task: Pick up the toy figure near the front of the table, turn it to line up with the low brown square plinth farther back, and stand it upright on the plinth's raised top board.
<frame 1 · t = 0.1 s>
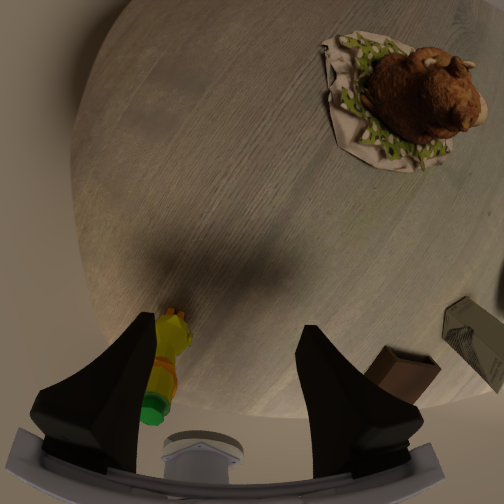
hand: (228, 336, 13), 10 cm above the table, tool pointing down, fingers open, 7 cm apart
box: (453, 317, 28), on the table
brown square plinth: (394, 373, 29), on the table
bear figurine: (395, 100, 19), on the table
toy figure: (173, 318, 24), on the table
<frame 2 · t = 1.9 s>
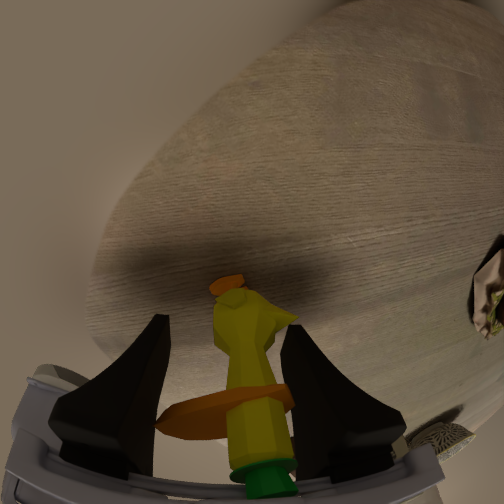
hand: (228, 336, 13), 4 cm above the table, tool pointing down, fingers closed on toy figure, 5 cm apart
box: (378, 432, 30), on the table
bowl: (426, 430, 35), on the table
canister: (397, 466, 47), on the table
toy figure: (227, 287, 16), on the table, touching gripper
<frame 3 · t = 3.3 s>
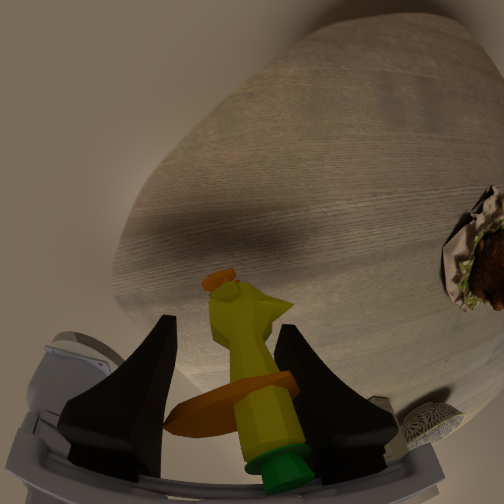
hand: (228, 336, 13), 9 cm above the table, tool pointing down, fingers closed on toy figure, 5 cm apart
box: (368, 405, 35), on the table
bowl: (417, 410, 40), on the table
canister: (391, 451, 52), on the table
bear figurine: (481, 253, 23), on the table
toy figure: (219, 283, 16), point 5 cm above the table, touching gripper
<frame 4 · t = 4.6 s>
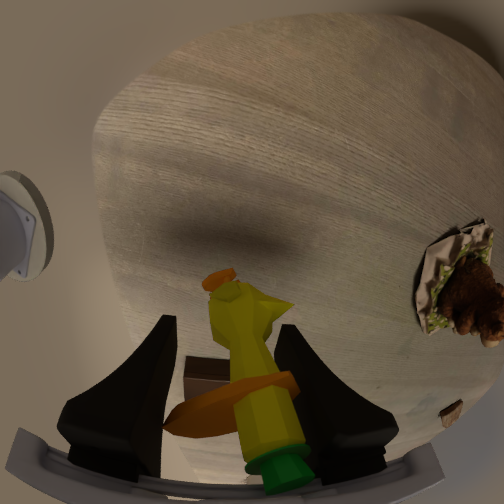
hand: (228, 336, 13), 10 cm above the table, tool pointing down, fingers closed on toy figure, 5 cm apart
brown square plinth: (215, 385, 30), on the table
bear figurine: (453, 279, 26), on the table
notched wooden chunk: (448, 408, 46), on the table
toy figure: (219, 283, 16), point 6 cm above the table, touching gripper
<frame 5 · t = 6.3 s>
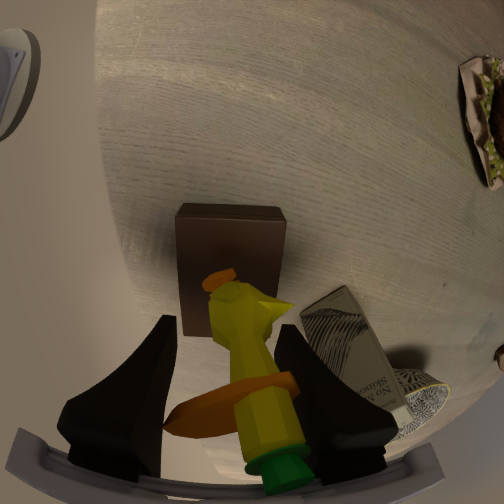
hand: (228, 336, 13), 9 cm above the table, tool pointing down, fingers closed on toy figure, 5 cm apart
box: (330, 311, 25), on the table
brown square plinth: (228, 265, 22), on the table
bowl: (378, 382, 32), on the table
bear figurine: (496, 123, 17), on the table
notched wooden chunk: (502, 348, 36), on the table
toy figure: (219, 283, 16), point 5 cm above the table, touching gripper
when the fingers open (7 cm above the table, at t = 7.5 s): toy figure stays where it is, resting on brown square plinth.
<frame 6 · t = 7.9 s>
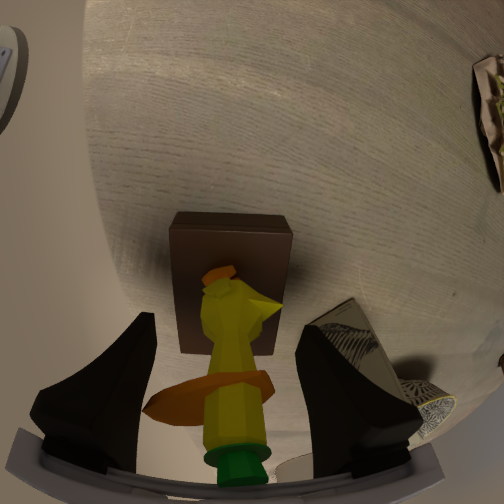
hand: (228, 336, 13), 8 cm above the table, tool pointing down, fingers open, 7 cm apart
box: (336, 325, 23), on the table
brown square plinth: (228, 278, 20), on the table
bowl: (383, 392, 30), on the table
canister: (314, 462, 42), on the table
toy figure: (219, 279, 17), point 3 cm above the table, touching gripper, brown square plinth
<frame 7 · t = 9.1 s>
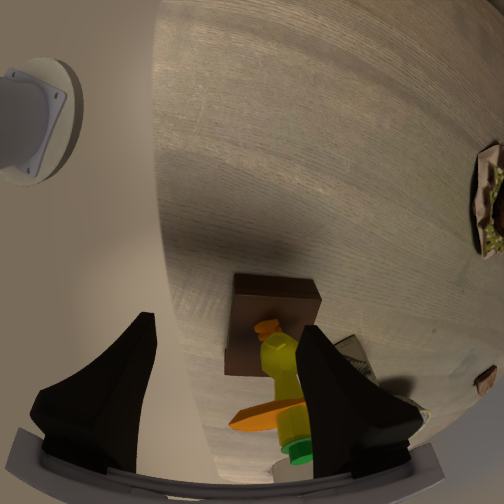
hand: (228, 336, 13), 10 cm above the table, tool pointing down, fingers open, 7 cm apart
box: (339, 353, 29), on the table
brown square plinth: (265, 320, 26), on the table
canister: (306, 462, 48), on the table
bear figurine: (499, 199, 22), on the table
notched wooden chunk: (482, 375, 41), on the table
toy figure: (265, 327, 22), point 3 cm above the table, touching brown square plinth
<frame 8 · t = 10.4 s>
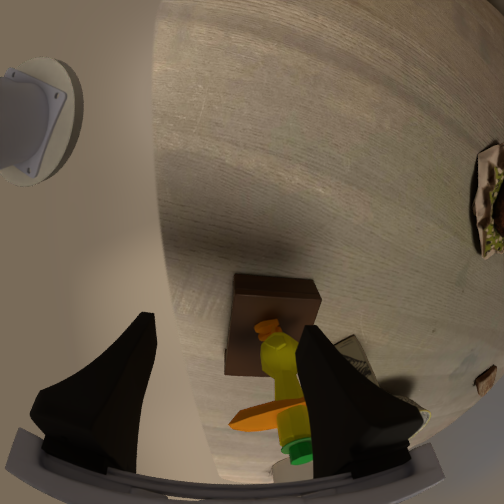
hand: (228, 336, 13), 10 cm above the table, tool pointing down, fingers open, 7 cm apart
box: (339, 353, 29), on the table
brown square plinth: (265, 320, 26), on the table
canister: (306, 462, 48), on the table
bear figurine: (499, 199, 22), on the table
notched wooden chunk: (482, 375, 41), on the table
toy figure: (265, 327, 22), point 3 cm above the table, touching brown square plinth
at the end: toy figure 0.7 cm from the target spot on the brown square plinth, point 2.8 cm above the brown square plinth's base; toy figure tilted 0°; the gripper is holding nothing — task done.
